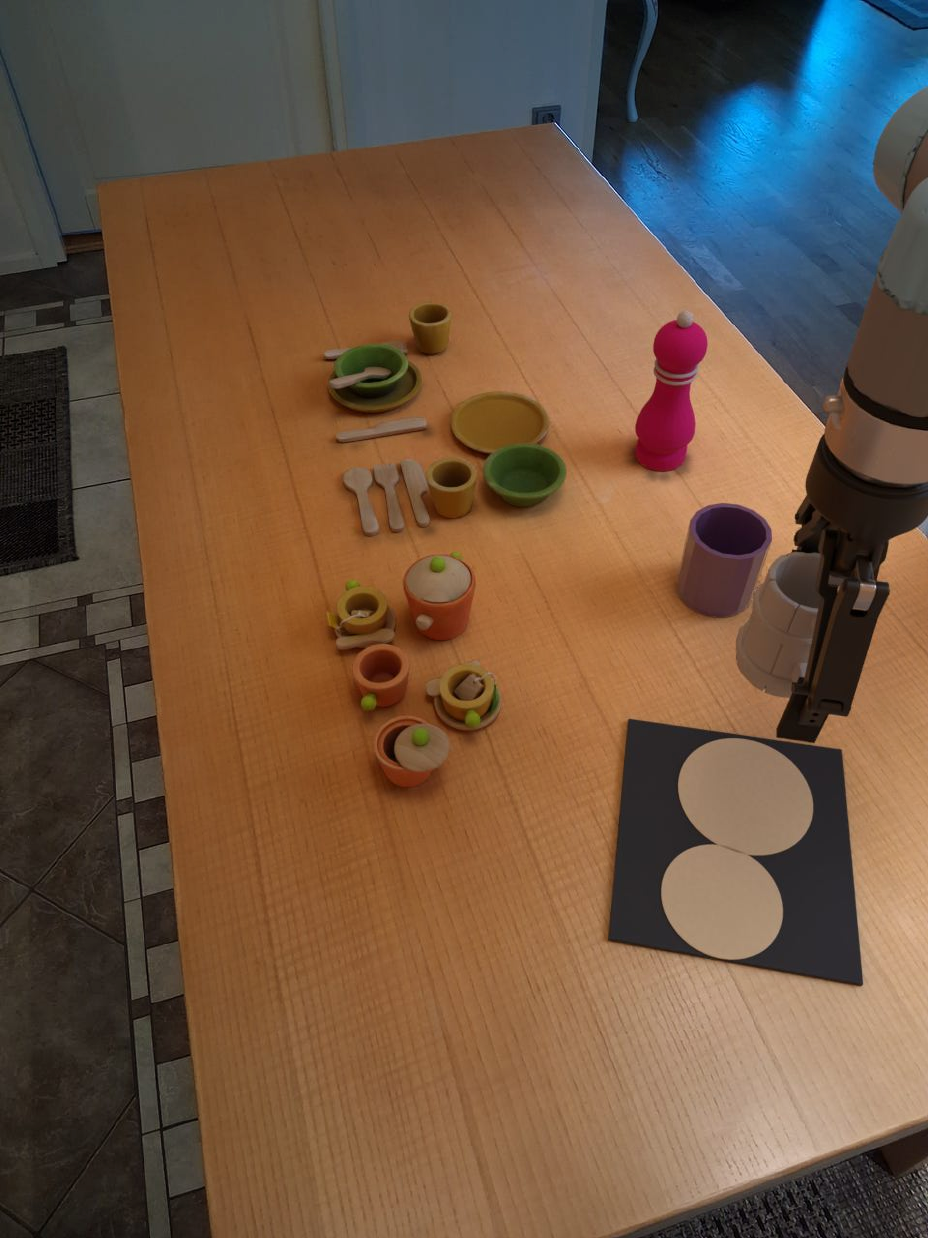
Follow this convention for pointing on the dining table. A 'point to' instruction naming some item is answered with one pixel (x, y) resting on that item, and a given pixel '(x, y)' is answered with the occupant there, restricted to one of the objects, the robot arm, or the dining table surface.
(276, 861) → the dining table surface
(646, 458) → the pepper mill
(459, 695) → the toy tea set
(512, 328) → the dining table surface
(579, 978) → the dining table surface
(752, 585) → the purple cup
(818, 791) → the placemat
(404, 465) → the tableware set
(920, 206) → the robot arm
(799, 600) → the mug
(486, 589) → the dining table surface
